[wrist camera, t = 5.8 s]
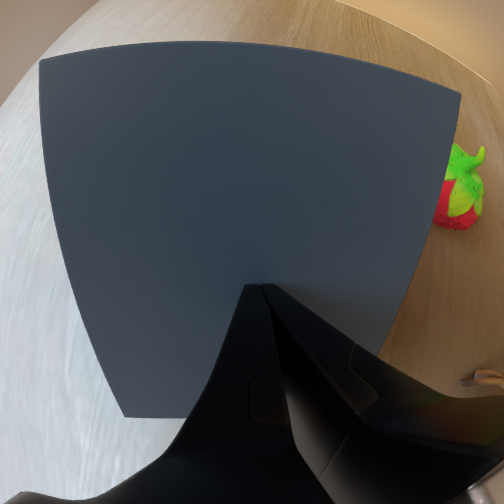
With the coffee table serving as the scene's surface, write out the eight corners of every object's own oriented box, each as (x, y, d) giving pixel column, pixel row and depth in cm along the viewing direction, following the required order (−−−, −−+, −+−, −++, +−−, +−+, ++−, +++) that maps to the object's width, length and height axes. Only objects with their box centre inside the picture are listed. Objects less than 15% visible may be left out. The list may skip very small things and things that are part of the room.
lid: (52, 60, 5) (38, 60, 5) (444, 89, 7) (462, 93, 6) (125, 403, 12) (124, 417, 12) (348, 386, 14) (354, 399, 13)
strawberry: (400, 252, 24) (486, 201, 14) (379, 172, 26) (443, 101, 16) (447, 249, 25) (527, 205, 15) (425, 176, 27) (489, 118, 17)
